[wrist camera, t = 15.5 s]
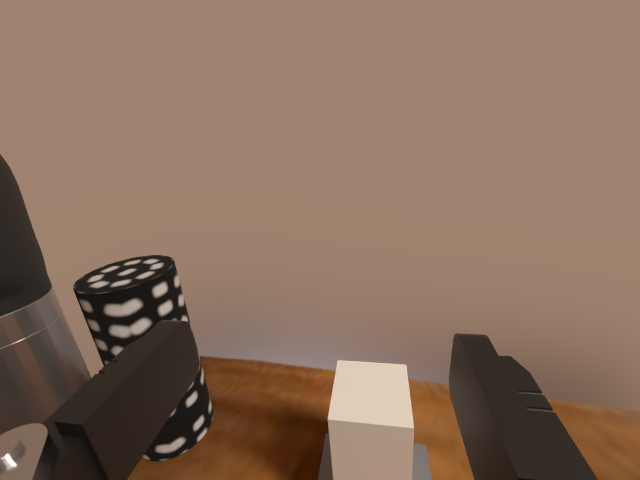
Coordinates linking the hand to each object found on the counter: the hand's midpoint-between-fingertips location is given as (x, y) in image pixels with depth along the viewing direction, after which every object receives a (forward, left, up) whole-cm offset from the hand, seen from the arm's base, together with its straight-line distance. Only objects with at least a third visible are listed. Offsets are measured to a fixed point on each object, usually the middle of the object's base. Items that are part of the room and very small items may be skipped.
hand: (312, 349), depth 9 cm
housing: (+1, +12, -23) cm, 26 cm away
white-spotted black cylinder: (-22, +15, -25) cm, 36 cm away
